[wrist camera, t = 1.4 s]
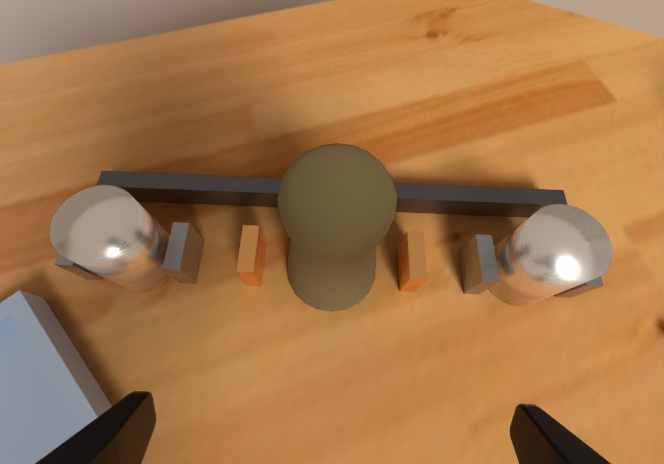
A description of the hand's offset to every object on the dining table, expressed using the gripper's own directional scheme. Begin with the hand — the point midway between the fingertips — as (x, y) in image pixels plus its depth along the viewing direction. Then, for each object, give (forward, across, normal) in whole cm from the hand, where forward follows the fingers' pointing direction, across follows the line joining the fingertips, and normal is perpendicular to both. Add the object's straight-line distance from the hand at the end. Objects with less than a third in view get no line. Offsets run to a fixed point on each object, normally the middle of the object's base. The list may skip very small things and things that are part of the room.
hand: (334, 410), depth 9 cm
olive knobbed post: (+15, 0, +4) cm, 16 cm away
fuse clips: (+16, 0, +3) cm, 16 cm away
